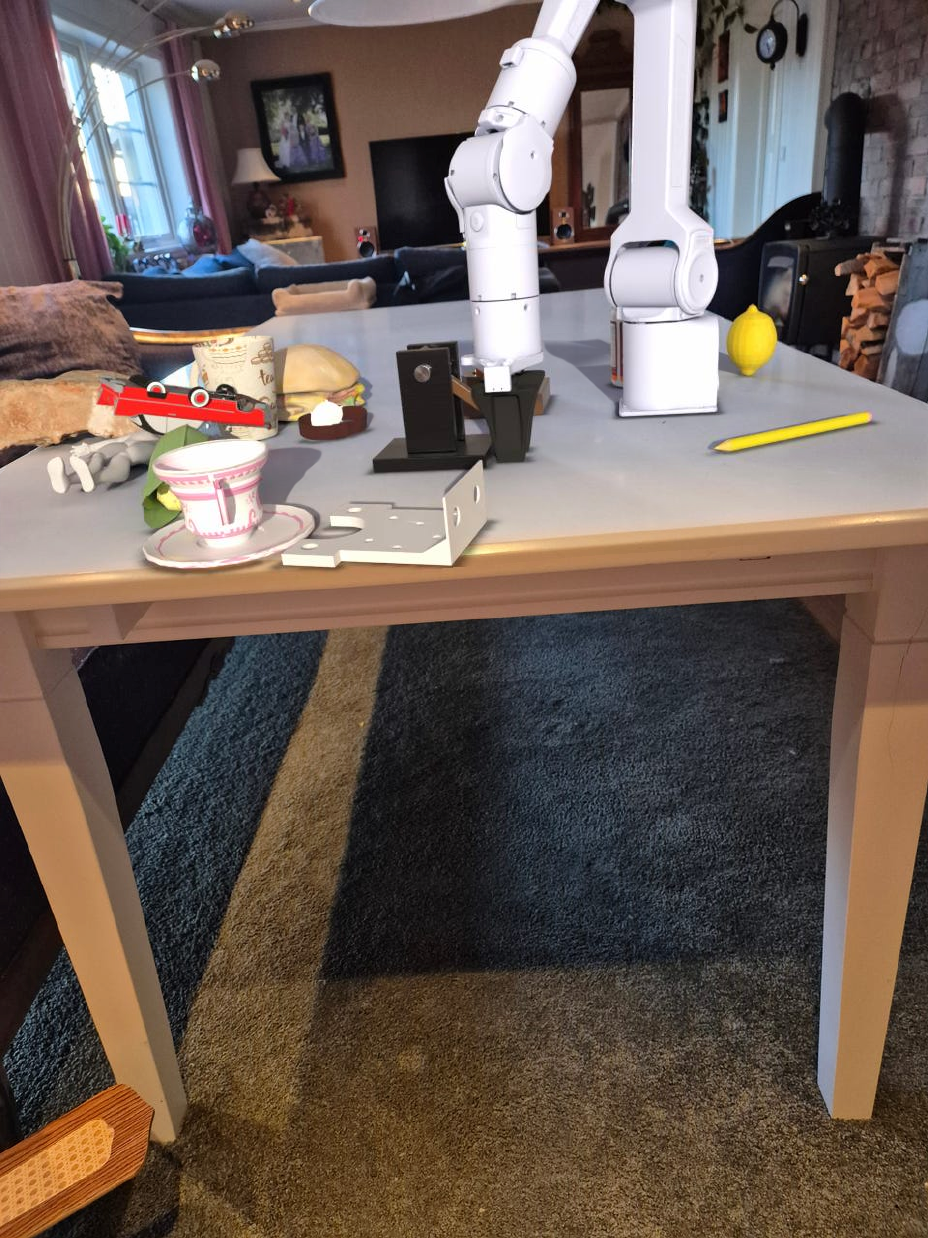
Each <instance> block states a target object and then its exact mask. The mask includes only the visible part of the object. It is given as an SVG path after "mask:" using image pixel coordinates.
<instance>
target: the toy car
mask: <svg viewBox="0 0 928 1238" xmlns="http://www.w3.org/2000/svg"><path fill="white" fill-rule="evenodd" d="M129 376H130V375H129ZM98 382H100V383H101V387H99V390H98V391H99V395H98V398H97V402H96V405H107V406H114V416H126V417H129V418H130V420H131V421H132V422H133V423H134V424H136V425H137V426H138V427H140V428H142V429H143V430H145V431H147V432H149V433H152V434H157V435H161V436H164V435H165V434H166V433H168V432H170V431H172V430H174V429H176V428H178V427H180V426H183V425H185V424H188V425H189V426H191V427H193V428H195V429H197V430H199V431H200V429H201V428H202V427H203V426H204V425H205V429H206V430H208V429H210V428H211V424H212V423H216V424H217V423H228V424H241V425H253V426H264V411H263V410H266V408H267V405H266V403H264V402H260V401H259V400H256V399H253V398H251V397H250V396H247V395H243V394H237V393H235V391H234V389H233V387H231V386H230V385H228V384H221V385H219V386H218V387H217V388H216V391H215V392H214V391H211V390H206V389H205V387H203V386H201V385H199V386H197V387H194V388H190V386H189V387H188V386H181V385H173V384H166V383H163V382H161V381H159V380H156V379H151V380H148V378H147V377H145V376H144V375H142V374H139V373H134V374H132V375H131V376H130V378H129V379H123V378H115V377H113V376H111V375H101V374H100V375H99V380H98ZM205 423H206V424H205Z"/></svg>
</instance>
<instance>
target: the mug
mask: <svg viewBox="0 0 928 1238" xmlns="http://www.w3.org/2000/svg"><path fill="white" fill-rule="evenodd" d="M274 342H275V341H274V337H273V336H271V335H247V336H246V335H245V336H236V337H228V338H227V337H226V338H220V339H213V340H208V341H203V342H198V343H195V344H193V345H192V346H191V348H192V349H191V350H192V353H193V357H194V361H193V362H192V365H191V367H190V371H189V388H194V387H197V386H200V377H201V380H202V383H203V386H204V389H205V390H211V391H214V392H215V391H216V388H217V387H218V386H219V385H221V384H228V385H230V386H231V387H233V389H234V391H235V393H237V394H243V395H247V396H250V397H251V398H253V399H256V400H259V401H260V402H264V403H266V405H267V408H266V410H263V411H264V426H253V425H241V424H228V423H216V424H217V427H218V430H219V433H220V436H221V437H224V436H225V437H226V439H248V440H255V441H260V440H266V439H269V438H272V437H274V436H276V435H277V434H278V433H279V421H278V415H277V395H276V375H275V355H274V352H275V343H274ZM226 439H225V440H226Z"/></svg>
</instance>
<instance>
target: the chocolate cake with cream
mask: <svg viewBox="0 0 928 1238" xmlns="http://www.w3.org/2000/svg"><path fill="white" fill-rule="evenodd" d="M344 421H345V422H344ZM297 425H298V431H299V435H300V437H301V438H304V439H307V440H310V441H331V440H339V439H344V438H348V437H349V436H350V437H351V436H354V435H356V434H359V433H362V432H363V431H365V430H366V429H367V427H368V410H367V409H366V407H364V406H362V405H360V406H341V407H339V406H338V405H336V404H335V403H333V402H330V401H328V400H327V399H326V400H325V402H322V403H320V404H319V405H318V406H317V407H316V408H315V409H314V410H313V412H310V413H308V414H305V415H302V416H300V417H299V418H298V421H297Z"/></svg>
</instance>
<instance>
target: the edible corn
mask: <svg viewBox="0 0 928 1238" xmlns="http://www.w3.org/2000/svg"><path fill="white" fill-rule="evenodd" d="M205 434H206V433H204V432H202V431H201V430H200V429H199V430H197V429H195V428H193V427H191V426H189V425H188V424H185V425H183V426H180V427H178V428H176V429H174V430H172V431H170V432H168V433H166V434H165V435H164V436H163V437H162V438H161V439H160V440H159V441H158V443H157V445H156V447H155V449H154V451H153V453H152V455H151V458H150V463H149V465H148V470H147V476H146V481H145V484H144V486H143V488H142V489H141V493H142V496H143V498H142V501H141V506H143V520H144V522H145V523H146V524H147V525H148V526H149V528H150V529H159V528H164V527H165V526H167V524H169V523H170V522H172V521H173V520H174V519H175V518H176V517H178V515H179V514H180V513H182V507H181V504H180V502H179V500H178V499H177V498H176V497H175V496H174V495H173V494H172V493H171V492H170V485H168V484H167V483H165V482H163V481H162V480H160V479H159V478H158V477H157V476H156V475H155V474H154V472H153V469H152V463H153V462H154V460H155V459H156V458H158V457H159V456H161V455H163V454H165V453H167V452H169V451H172V450H174V449H178V448H181V447H184V446H188V445H192V444H197V443H202V442H208V441H209V438H208V436H207V435H208V434H207V435H205Z"/></svg>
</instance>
